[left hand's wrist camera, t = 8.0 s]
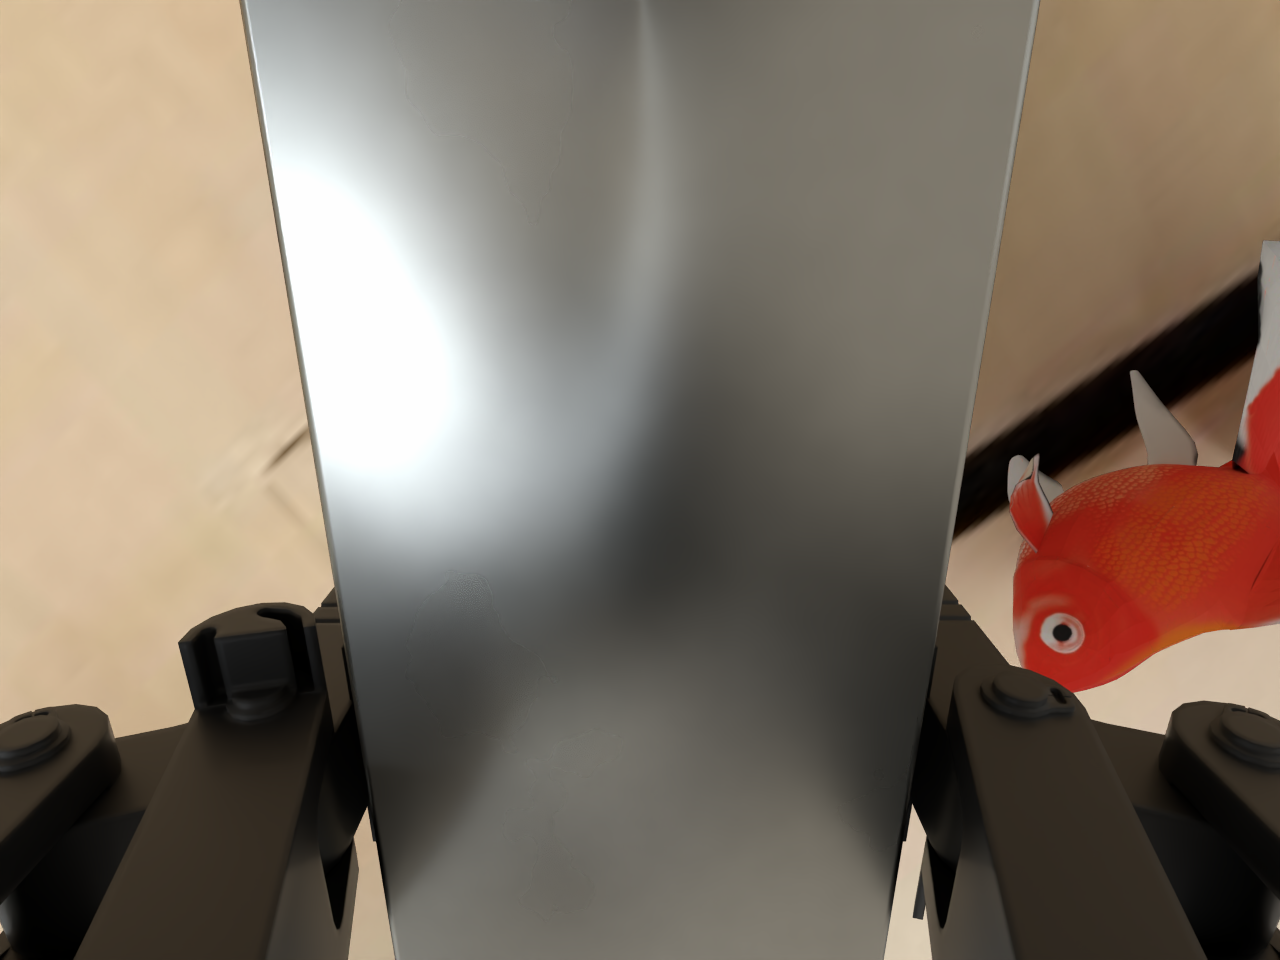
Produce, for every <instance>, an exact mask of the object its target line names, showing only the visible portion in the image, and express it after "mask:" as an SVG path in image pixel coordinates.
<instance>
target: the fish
mask: <svg viewBox="0 0 1280 960" xmlns="http://www.w3.org/2000/svg"><path fill="white" fill-rule="evenodd" d="M1130 376H1131V382H1132V389H1133V398H1134V407H1135V412H1136V417H1137V421H1138V424H1139V427H1140V431H1141V434H1142V437H1143V440H1144V442H1145V446H1146V450H1147V457H1148V465H1143V466H1137V467H1131V468H1127V469H1122V470H1118V471H1114V472H1110V473H1106V474H1103V475H1100V476H1097V477H1094V478H1091V479H1088V480H1086V481H1084V482H1081V483H1079V484H1077V485H1075V486H1074V487H1072V488H1070V489H1068V490H1067V491H1065V492H1064V491H1063V488H1062V485H1061V484H1059V483H1058V482H1057V481H1055V480H1054V479H1052V478H1050V477H1048V476H1047V475H1045V474H1043V473H1042V472H1040V471H1039V459H1040V454H1039V453H1038V454H1037V455H1035V456H1034V457H1033V458H1032V459H1031V461H1030V462H1029V461H1028V460H1027V459H1025V458H1024V457H1023V456H1020V455H1017V456H1015V457H1013V458H1012V459H1011V460H1010V463H1009V469H1008V498H1009V502H1010V510H1009V512H1010V515H1011V517H1012V520H1013V522H1014V524H1015V527H1016V529H1017V531H1018V532H1019V533H1020V534H1021V536H1022V537H1023V538H1024V540H1023V542H1022V544H1021V547H1020V551H1019V555H1018V559H1017V565H1016V570H1015V573H1014V577H1013V633H1014V639H1015V646H1016V652H1017V655H1018V658H1019V661H1020V664H1021V667H1022V668H1024V669H1029V670H1032V671H1034V672H1036V673H1039V674H1041V675H1043V676H1046V677H1048V678H1051V679H1053V680H1055V681H1056V682H1058V683H1059V684H1061V685H1062V686H1063V687H1065V688H1066V689H1068V690H1069V691H1071V692H1072V693H1074V692H1079V691H1083V690H1087V689H1091V688H1094V687H1097V686H1101V685H1104V684H1106V683H1109V682H1111V681H1114V680H1116V679H1118V678H1120V677H1122V676H1123V675H1125V674H1126V673H1128V672H1129V671H1131V670H1132V669H1134V668H1135V667H1136V666H1138V665H1139V664H1141V663H1142V662H1143V661H1145V660H1146V659H1148V658H1149V657H1151V656H1152V655H1153V654H1155V653H1157V652H1159V651H1161V650H1163V649H1165V648H1167V647H1170V646H1172V645H1174V644H1177V643H1179V642H1181V641H1184V640H1186V639H1189V638H1192V637H1194V636H1197V635H1200V634H1202V633H1205V632H1211V631H1217V630H1226V629H1230V630H1234V629H1244V628H1254V627H1261V626H1267V625H1274V624H1280V241H1263V244H1262V251H1261V258H1260V265H1259V272H1258V345H1257V349H1256V354H1255V359H1254V363H1253V368H1252V372H1251V377H1250V382H1249V386H1248V391H1247V395H1246V400H1245V405H1244V409H1243V414H1242V419H1241V423H1240V428H1239V432H1238V436H1237V441H1236V445H1235V450H1234V454H1233V459H1232V460H1231V461H1229V462H1228V463H1226V464H1224V465H1222V466H1220V467H1207V466H1196V464H1197V458H1198V453H1197V449H1196V446H1195V443H1194V441H1193V440H1192V438H1191V437H1190V435H1189V434H1188V433H1187V431H1186V430H1185V429H1184V428H1183V426H1182V425H1181V424H1180V423H1179V422H1178V421H1177V420H1176V419H1175V417H1174V416H1173V415H1172V414H1171V413H1170V412H1169V411H1168V409H1167V408H1166V407H1165V406H1164V405H1163V403H1162V402H1161V401H1160V400H1159V398H1158V397H1157V396H1156V394H1155V393H1154V392H1153V391H1152V389H1151V388H1150V387H1149V385H1148V384H1147V382H1146V381H1145V380H1144V378H1143V377H1142V376H1141V374H1140V373H1139V372H1138V371H1137V370H1133V371H1130Z"/></svg>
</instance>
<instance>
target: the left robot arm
mask: <svg viewBox="0 0 1280 960" xmlns="http://www.w3.org/2000/svg"><path fill="white" fill-rule="evenodd" d="M178 645H179V648H180V652H181V656H182V660H183V664H184V668H185V672H186V676H187V680H188V684H189V688H190V692H191V696H192V699H193V703H194V707H195V710H194V712H193V714H192V716H191V718H190V720H189V722H188V723H186V724H182V725H178V726H174V727H170V728H165V729H160V730H155V731H150V732H145V733H140V734H135V735H130V736H124V737H119V738H114V734H113V731H112V728H111V725H110V721H109V718H108V715H106V714H105V713H104V712H102V711H101V710H100V709H98V708H97V707H93V706H86V705H78V704H74V705H65V706H56V707H47V708H42V709H37V710H35V712H32V711H30V712H27V713H24V714H21V715H18V716H16V717H13V718H12V719H11V720H9V721H7V722H4V723H2V724H0V923H1V925H2V928H3V931H2V933H1V934H0V960H348V954H349V946H350V938H351V929H352V921H353V913H354V905H355V897H356V888H357V880H358V872H359V867H358V860H357V853H356V848H355V842H354V835H355V832H356V830H357V828H358V826H359V823H360V821H361V819H362V817H363V815H364V812H365V810H366V808H367V807H368V813H369V819H370V825H371V831H372V837H373V841H376V838H375V832H374V825H373V819H372V813H371V807H370V801H369V795H368V789H367V782H366V776H365V770H364V764H363V758H362V752H361V746H360V739H359V733H358V727H357V721H356V715H355V709H354V702H353V696H352V690H351V684H350V678H349V672H348V666H347V659H346V653H345V647H344V641H343V635H342V629H341V623H340V616H339V610H338V604H337V598H336V592H335V587H334V588H333V589H332V591H331V592H330V593H329V594H328V596H327V597H326V598H325V599H324V601H323V602H322V603H321V607H318V608H317V609H316V611H315V612H314V613H312V612H310V611H309V610H308V609H306V608H305V607H304V606H300V605H295V604H290V603H286V602H283V603H260V604H254V605H249V606H244V607H239V608H235V609H232V610H230V611H227V612H224V613H221V614H219V615H216V616H213V617H211V618H209V619H207V620H206V621H204V622H202V623H200V624H199V625H197V626H195V627H194V628H192V629H191V630H190V631H189V632H188V633H187V634H186V635H185V636H184V637H183V638H182V639H181V640H180V641H179V642H178ZM912 804H913V806H914V808H915V810H916V813H917V815H918V817H919V819H920V821H921V824H922V826H923V828H924V830H925V832H926V835H927V837H926V842H925V848H924V853H923V859H922V865H921V870H920V876H919V882H918V887H917V893H916V899H915V905H914V912H913V918H917V919H922V920H923V916H924V910H925V905H926V911H927V919H928V928H929V936H930V944H931V952H932V960H1280V930H1279V929H1278V928H1277V925H1278V922H1279V920H1280V721H1279V720H1277V719H1275V718H1273V717H1270V716H1269V715H1268V714H1266V713H1264V712H1261V711H1258V710H1255V709H1252V708H1248V709H1247V708H1245V706H1241V705H1236V704H1232V703H1220V702H1211V701H1198V702H1191V703H1183V704H1182V705H1181V706H1179V707H1178V708H1177V709H1176V710H1174V711H1173V712H1172V714H1171V718H1170V721H1169V724H1168V728H1167V731H1166V734H1165V735H1162V734H1157V733H1152V732H1147V731H1142V730H1137V729H1132V728H1127V727H1122V726H1117V725H1112V724H1107V723H1103V722H1099V721H1095V720H1091V719H1090V717H1089V715H1088V713H1087V711H1086V709H1085V707H1084V706H1083V705H1082V704H1081V702H1080V701H1079V700H1078V699H1077V697H1076V696H1075V695H1074V694H1073V693H1072V692H1071V691H1069V690H1068V689H1066V688H1065V687H1063V686H1062V685H1061V684H1059V683H1058V682H1056V681H1055V680H1053V679H1051V678H1048V677H1046V676H1043V675H1041V674H1039V673H1036V672H1034V671H1032V670H1029V669H1024V668H1020V667H1015V666H1011V665H1009V663H1008V662H1007V661H1006V660H1005V658H1004V657H1003V656H1002V655H1001V653H1000V652H999V651H998V650H997V649H996V647H995V646H994V645H993V644H992V642H991V641H990V640H989V639H988V637H987V636H986V635H985V634H984V632H983V631H982V630H981V629H980V627H979V626H978V625H977V624H976V622H975V621H974V620H971V616H970V615H969V614H968V612H967V611H966V610H965V609H964V607H963V606H962V605H959V604H958V600H957V599H956V597H955V596H954V595H953V594H952V592H951V591H950V590H949V589H948V587H947V586H946V585H945V586H944V593H943V599H942V605H941V611H940V617H939V623H938V629H937V635H936V641H935V648H934V654H933V660H932V666H931V672H930V678H929V684H928V690H927V697H926V703H925V709H924V715H923V721H922V727H921V733H920V739H919V746H918V752H917V758H916V764H915V770H914V776H913V782H912V788H911V795H910V801H909V807H908V813H907V819H906V825H905V831H904V837H903V841H906V838H907V832H908V826H909V820H910V814H911V808H912Z"/></svg>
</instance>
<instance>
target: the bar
mask: <svg viewBox="0 0 1280 960" xmlns="http://www.w3.org/2000/svg"><path fill="white" fill-rule="evenodd" d="M239 1H240V8H241V14H242V20H243V26H244V32H245V38H246V44H247V51H248V57H249V63H250V69H251V75H252V81H253V87H254V94H255V100H256V106H257V112H258V118H259V124H260V131H261V137H262V143H263V149H264V155H265V161H266V167H267V174H268V180H269V186H270V192H271V198H272V204H273V210H274V217H275V223H276V229H277V235H278V241H279V247H280V254H281V260H282V266H283V272H284V278H285V284H286V290H287V297H288V303H289V309H290V315H291V321H292V327H293V333H294V340H295V346H296V352H297V358H298V364H299V370H300V377H301V383H302V389H303V395H304V401H305V407H306V413H307V420H308V426H309V432H310V438H311V444H312V450H313V456H314V463H315V469H316V475H317V481H318V487H319V493H320V500H321V506H322V512H323V518H324V524H325V530H326V536H327V543H328V549H329V555H330V561H331V567H332V573H333V579H334V586H335V592H336V598H337V604H338V610H339V616H340V623H341V629H342V635H343V641H344V647H345V653H346V659H347V666H348V672H349V678H350V684H351V690H352V696H353V702H354V709H355V715H356V721H357V727H358V733H359V739H360V746H361V752H362V758H363V764H364V770H365V776H366V782H367V789H368V795H369V801H370V807H371V813H372V819H373V825H374V832H375V838H376V844H377V850H378V856H379V862H380V869H381V875H382V881H383V887H384V893H385V899H386V905H387V912H388V918H389V924H390V930H391V936H392V942H393V948H394V955H395V960H884V954H885V948H886V941H887V935H888V929H889V923H890V917H891V911H892V905H893V899H894V892H895V886H896V880H897V874H898V868H899V862H900V856H901V850H902V843H903V837H904V831H905V825H906V819H907V813H908V807H909V801H910V795H911V788H912V782H913V776H914V770H915V764H916V758H917V752H918V746H919V739H920V733H921V727H922V721H923V715H924V709H925V703H926V697H927V690H928V684H929V678H930V672H931V666H932V660H933V654H934V648H935V641H936V635H937V629H938V623H939V617H940V611H941V605H942V599H943V593H944V586H945V580H946V574H947V568H948V562H949V556H950V550H951V544H952V537H953V531H954V525H955V519H956V513H957V507H958V501H959V495H960V488H961V482H962V476H963V470H964V464H965V458H966V452H967V446H968V439H969V433H970V427H971V421H972V415H973V409H974V403H975V397H976V391H977V384H978V378H979V372H980V366H981V360H982V354H983V348H984V342H985V335H986V329H987V323H988V317H989V311H990V305H991V299H992V293H993V286H994V280H995V274H996V268H997V262H998V256H999V250H1000V244H1001V237H1002V231H1003V225H1004V219H1005V213H1006V207H1007V201H1008V195H1009V189H1010V182H1011V176H1012V170H1013V164H1014V158H1015V152H1016V146H1017V140H1018V133H1019V127H1020V121H1021V115H1022V109H1023V103H1024V97H1025V91H1026V84H1027V78H1028V72H1029V66H1030V60H1031V54H1032V48H1033V42H1034V35H1035V29H1036V23H1037V17H1038V11H1039V5H1040V0H239Z"/></svg>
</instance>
